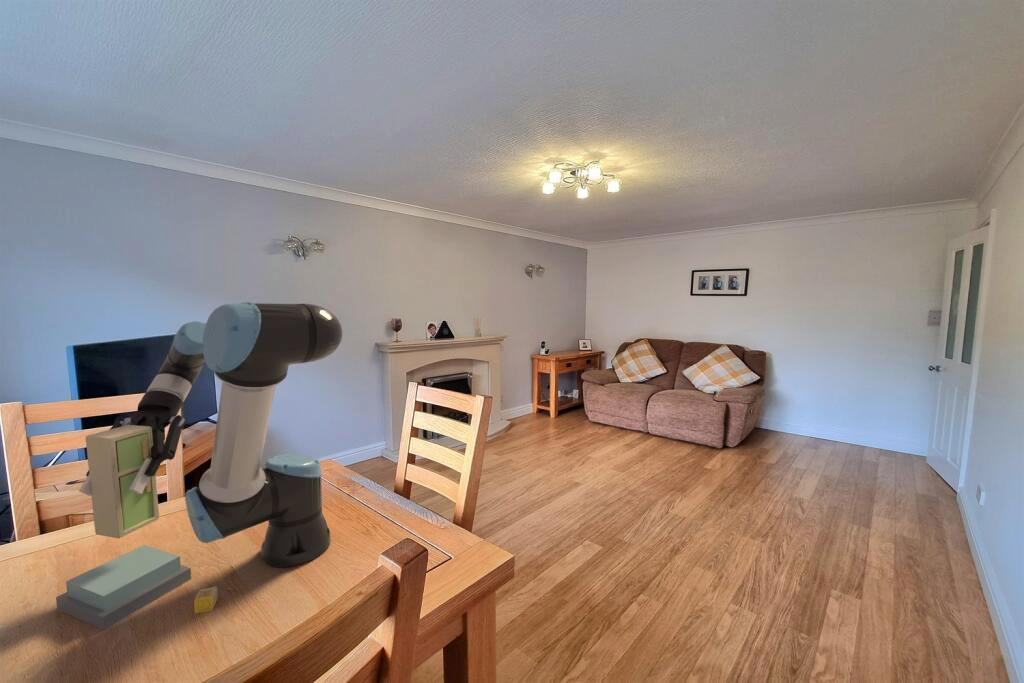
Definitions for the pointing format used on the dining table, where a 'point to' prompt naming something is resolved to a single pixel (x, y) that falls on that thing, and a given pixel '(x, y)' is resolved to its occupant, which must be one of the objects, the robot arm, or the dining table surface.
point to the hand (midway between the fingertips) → (110, 492)
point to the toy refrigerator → (120, 480)
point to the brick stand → (122, 586)
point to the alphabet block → (205, 599)
